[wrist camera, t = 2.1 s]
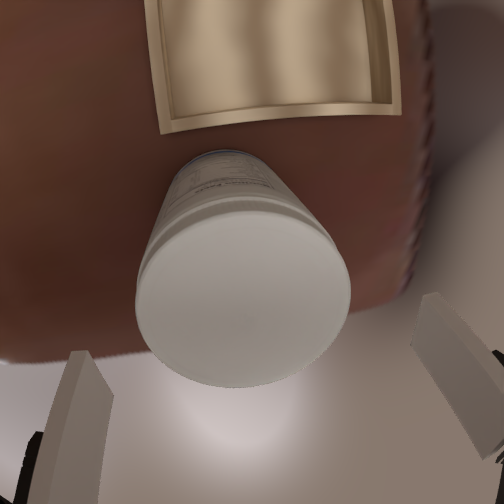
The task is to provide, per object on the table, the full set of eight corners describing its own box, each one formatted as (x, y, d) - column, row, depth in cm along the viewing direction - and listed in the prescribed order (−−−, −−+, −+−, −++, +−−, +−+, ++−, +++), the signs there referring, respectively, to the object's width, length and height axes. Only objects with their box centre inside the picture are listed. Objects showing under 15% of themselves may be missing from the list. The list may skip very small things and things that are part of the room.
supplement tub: (291, 240, 28) (359, 361, 16) (187, 269, 28) (184, 409, 15) (267, 131, 24) (345, 180, 11) (149, 166, 24) (90, 254, 11)
